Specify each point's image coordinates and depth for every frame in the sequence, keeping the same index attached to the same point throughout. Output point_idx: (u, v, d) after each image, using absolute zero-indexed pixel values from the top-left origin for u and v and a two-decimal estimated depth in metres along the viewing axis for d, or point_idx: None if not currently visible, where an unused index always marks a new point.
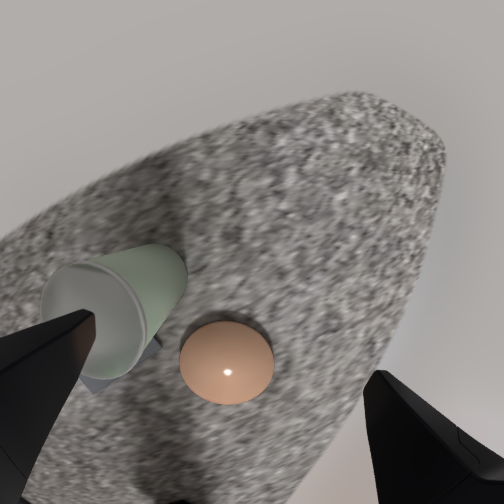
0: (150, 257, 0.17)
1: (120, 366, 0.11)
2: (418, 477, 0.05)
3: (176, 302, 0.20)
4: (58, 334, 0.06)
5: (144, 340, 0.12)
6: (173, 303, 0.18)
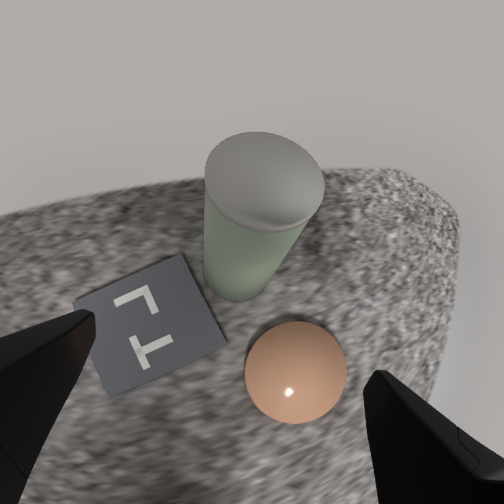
0: None
1: (294, 214, 0.12)
2: (417, 477, 0.05)
3: (274, 272, 0.20)
4: (58, 334, 0.06)
5: None
6: None
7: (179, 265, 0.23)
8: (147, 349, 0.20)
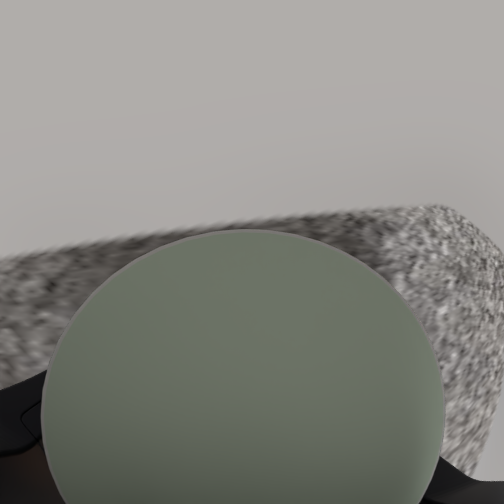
0: None
1: None
2: None
3: None
4: None
5: (428, 468, 0.03)
6: None
7: None
8: None
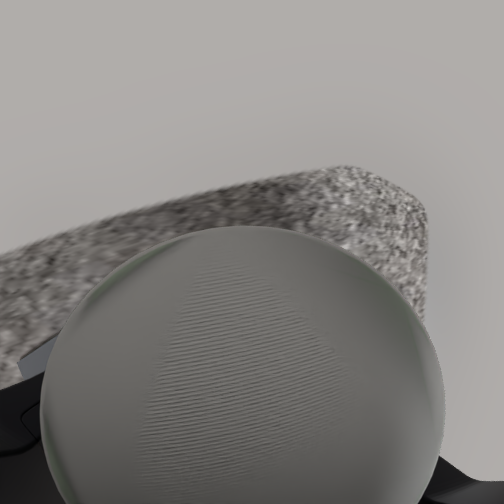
0: None
1: None
2: None
3: None
4: None
5: (428, 465, 0.03)
6: None
7: None
8: None
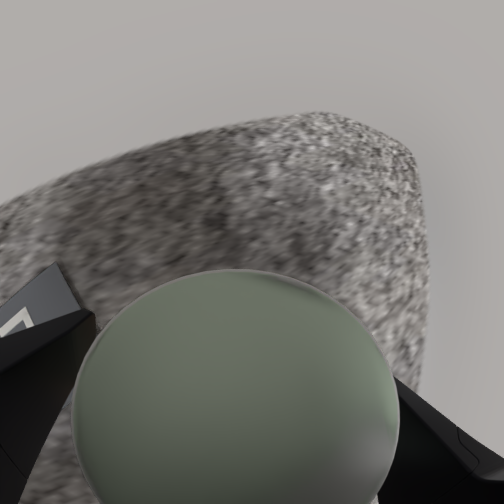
0: None
1: None
2: (417, 477, 0.05)
3: None
4: (58, 334, 0.06)
5: (385, 465, 0.04)
6: None
7: (54, 277, 0.16)
8: None
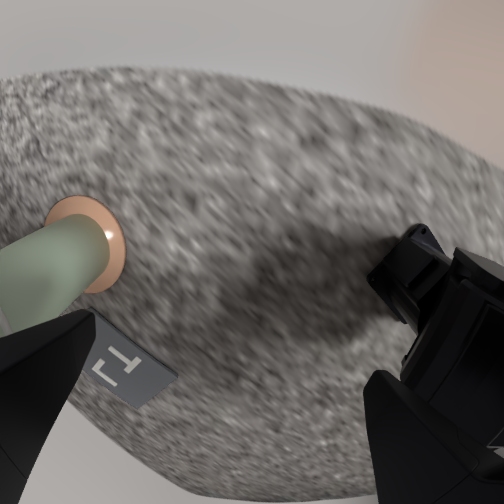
0: None
1: None
2: (417, 477, 0.05)
3: (65, 230, 0.16)
4: (58, 334, 0.06)
5: None
6: (45, 235, 0.15)
7: None
8: (127, 360, 0.24)
